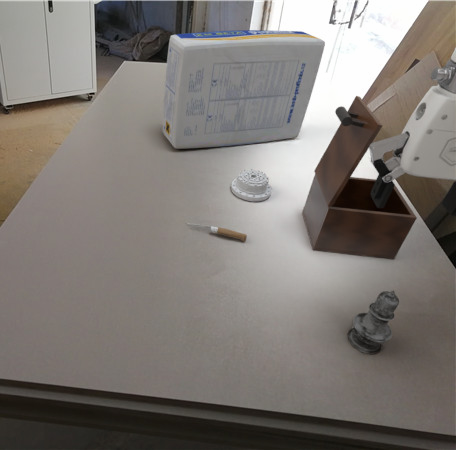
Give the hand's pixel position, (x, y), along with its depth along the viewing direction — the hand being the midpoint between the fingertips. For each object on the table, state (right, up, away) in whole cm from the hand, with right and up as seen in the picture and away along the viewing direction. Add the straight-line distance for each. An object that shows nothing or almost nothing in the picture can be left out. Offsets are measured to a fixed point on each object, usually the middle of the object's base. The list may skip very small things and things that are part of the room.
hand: (412, 206), depth 56 cm
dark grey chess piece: (-1, -22, +11) cm, 25 cm away
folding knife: (-23, -5, +32) cm, 39 cm away
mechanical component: (-12, +6, +46) cm, 48 cm away
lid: (+1, +12, +22) cm, 25 cm away
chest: (+6, -5, +34) cm, 35 cm away
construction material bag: (-12, +24, +70) cm, 75 cm away
